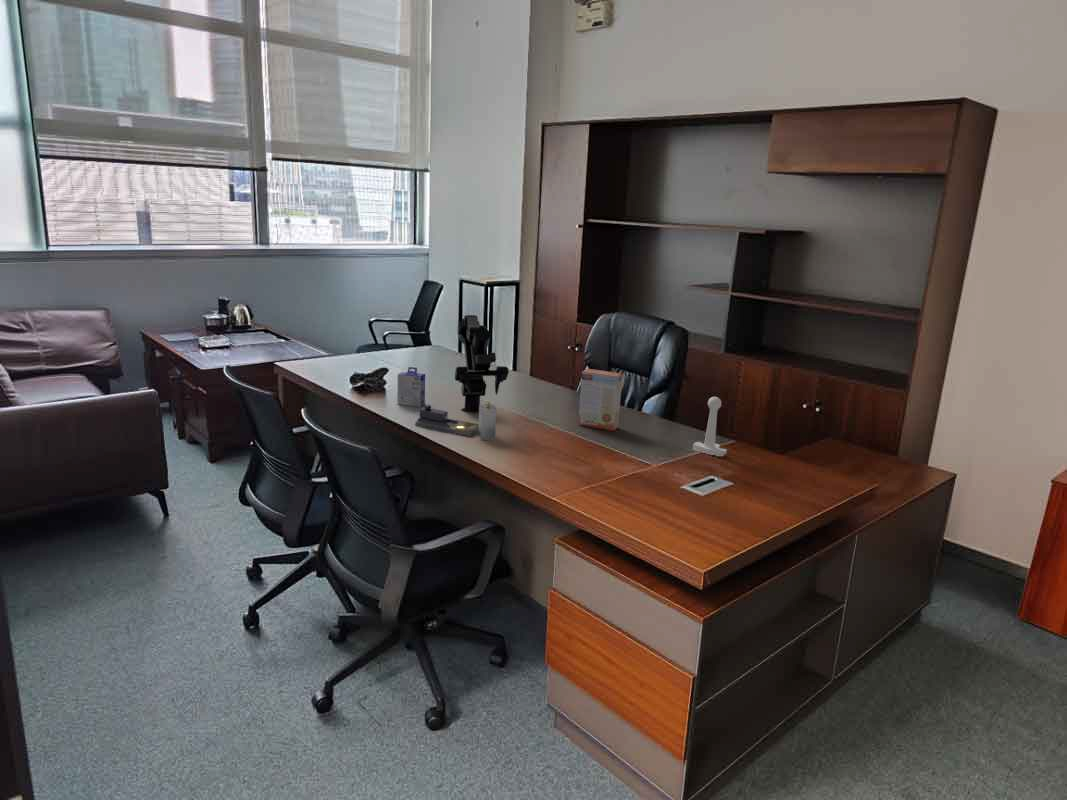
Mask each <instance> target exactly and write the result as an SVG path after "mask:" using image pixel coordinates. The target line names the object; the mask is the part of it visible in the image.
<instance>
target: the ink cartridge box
mask: <svg viewBox="0 0 1067 800" xmlns="http://www.w3.org/2000/svg"><path fill="white" fill-rule="evenodd" d="M425 402H426V373H419V372H418V367H412V366H409V367H408V369H407V371H406V372H405V371H403V372H402V371H401V372H399V374H397V405H405V406H413V407H422V406H423V405H426V403H425Z"/></svg>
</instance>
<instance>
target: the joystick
mask: <svg viewBox="0 0 1067 800" xmlns="http://www.w3.org/2000/svg"><path fill="white" fill-rule="evenodd" d="M707 406H708V408H709V415H708V421H707V426H706V432H705V435H704V437H705V438H704V443H702V442H701V441H696V442H694V443H693V445H692V451H694V450H695V451H694V452H696V451H699V452H702V453H706V454H710V455H716V456H724V457H725V456H726V455H727V451H728V450H727V448H721V445H720V444H718V443H716V435H717V420H718V419H717V418H718V411H719V409H720V408H721V407H722V400H721V398H719V397H717V396H712V397H710V398H708V401H707ZM699 452H698V453H699ZM725 454H726V455H725Z"/></svg>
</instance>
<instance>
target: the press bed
mask: <svg viewBox="0 0 1067 800" xmlns="http://www.w3.org/2000/svg"><path fill="white" fill-rule="evenodd" d="M414 425H415V427H419V426H420V428H424V427H425V429H429V428H430V430H434V429H435V430H436V431H440V432H446V433H449V432H450V434H454V433H456V435H459V434H460V435H459V436H464V435H465V436H464V437H469V436H470V438H471V437H473V436H474V434H475V435H477V434H478V430H479V423H474V422H470V421H464V420H458V419H454V418H447V421H446V422H444V423H442V422H437V421H432V420H427V419H422V418H420V417H419V418H417V420H416V421H415V423H414Z"/></svg>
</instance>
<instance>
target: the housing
mask: <svg viewBox="0 0 1067 800" xmlns="http://www.w3.org/2000/svg"><path fill="white" fill-rule="evenodd" d="M496 422H497V407H495V405H494V404H491V402H490V401H487V402H485V404H480V405H479V412H478V424H479V430H478V433H477V434H478V435H479V436H478V435H477V436H478V437H480V438H479V439H481V440H480V441H488V440H489V439H495V440H496V425H497V423H496ZM486 439H487V440H486ZM489 441H490V440H489Z"/></svg>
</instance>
